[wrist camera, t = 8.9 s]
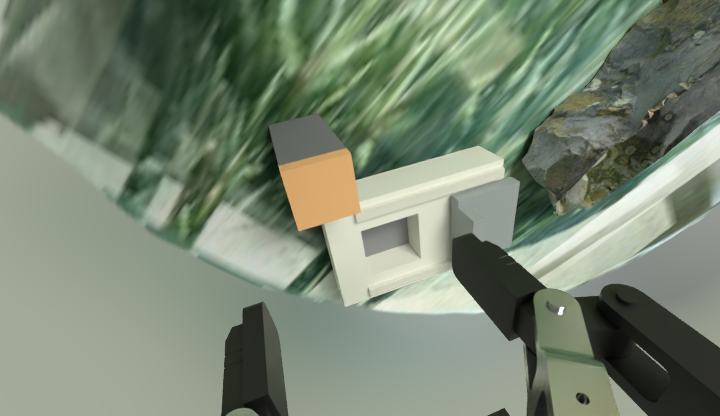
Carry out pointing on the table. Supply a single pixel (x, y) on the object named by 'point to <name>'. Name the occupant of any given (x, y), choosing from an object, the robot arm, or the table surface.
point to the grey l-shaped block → (486, 212)
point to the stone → (631, 106)
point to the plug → (315, 171)
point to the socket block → (404, 223)
